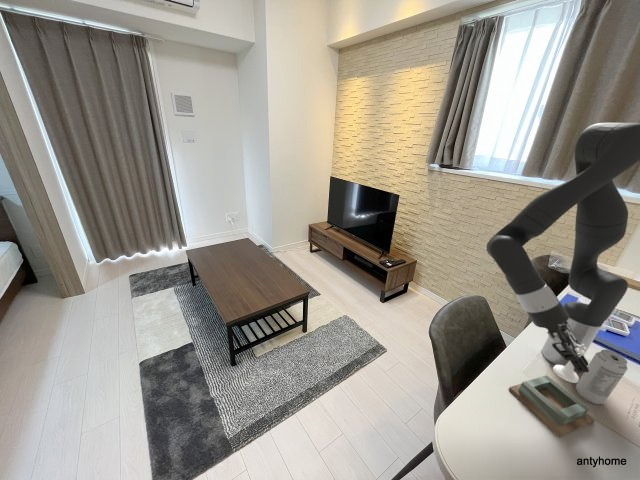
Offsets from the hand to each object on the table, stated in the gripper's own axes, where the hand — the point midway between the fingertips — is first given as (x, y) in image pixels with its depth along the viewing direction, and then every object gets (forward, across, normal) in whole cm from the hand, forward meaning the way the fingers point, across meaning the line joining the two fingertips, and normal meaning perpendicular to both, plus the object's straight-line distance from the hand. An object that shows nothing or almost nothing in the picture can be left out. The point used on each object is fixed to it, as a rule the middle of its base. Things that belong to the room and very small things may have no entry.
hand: (583, 368), depth 63 cm
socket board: (+10, 0, +12) cm, 15 cm away
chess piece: (+1, 0, +4) cm, 5 cm away
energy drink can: (+16, +12, +6) cm, 21 cm away
